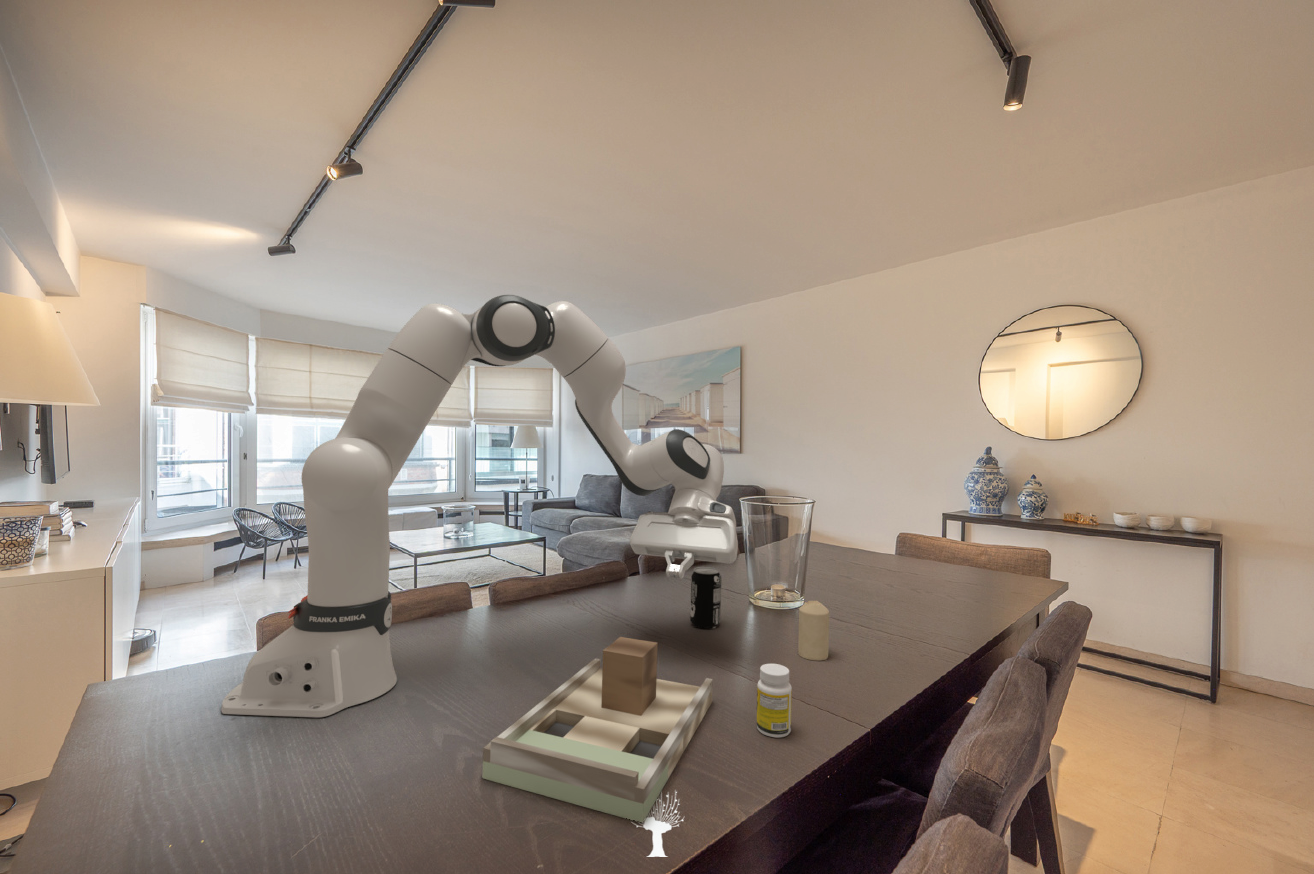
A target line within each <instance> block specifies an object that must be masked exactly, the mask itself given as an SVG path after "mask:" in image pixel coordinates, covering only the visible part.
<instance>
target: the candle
mask: <svg viewBox="0 0 1314 874" xmlns="http://www.w3.org/2000/svg"><path fill="white" fill-rule="evenodd" d="M829 636H830V611H829V609H828V608H827V607H826V606H825V605H824V604H822V603H821V602H819V601H818V600H808V601H805V602H804V603H803V604H802V605H800V607H799V608H798V645H797V646H798V649H797V650H798V652H797V653H798V655H799V656H800V657H801V658H803V659H806V660H810V661H819V662H821V661H825V660H827V659H828V658H829V649H830V647H829V646H830V645H829V643H830V641H829V639H830V637H829Z"/></svg>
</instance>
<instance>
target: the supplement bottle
mask: <svg viewBox="0 0 1314 874" xmlns="http://www.w3.org/2000/svg"><path fill="white" fill-rule="evenodd" d="M759 671H760V672H759V680H758V682H757V685H756V729H757V730H758V732H760V733H761V734H762V735H765V736H768V737H771V738H777V739H778V738H785V737H787V736H789V735H790V734H791V731H792V701H793V700H792V697H793V696H792V695H793V694H792V693H793V688H792V685H791V682H790V669H789V668H788V667H787V666H785V665H782V664H779V663H778V664H777V663H766V664H765V663H764V664H761V666H760V668H759Z"/></svg>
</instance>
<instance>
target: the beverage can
mask: <svg viewBox="0 0 1314 874" xmlns="http://www.w3.org/2000/svg"><path fill="white" fill-rule="evenodd" d="M720 571H721V570H720V569H719V568H715V567H710V566H698V567H694V568H693V572H692V574H691V577H690V578H691V579H690V582H691V583H690V617H689V620H690V623H691V624H692V626H693V627H695V628H697V629H700V630H701V629H702V630H712V629H716V628H717V627H718V626H719V625H720V624H721V619H722V618H721V617H722V616H721V615H722V613H721V611H722V609H721V607H722V579H723V578H722V575H721V573H720Z"/></svg>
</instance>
